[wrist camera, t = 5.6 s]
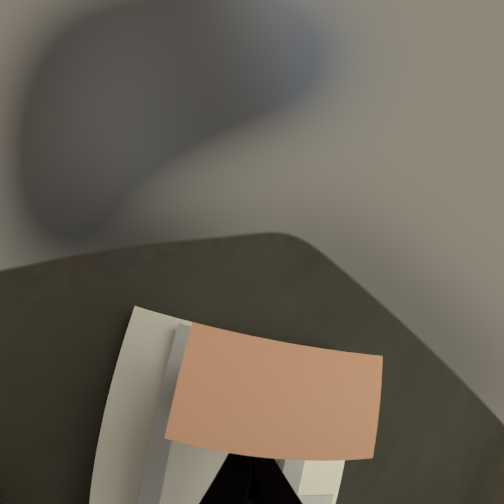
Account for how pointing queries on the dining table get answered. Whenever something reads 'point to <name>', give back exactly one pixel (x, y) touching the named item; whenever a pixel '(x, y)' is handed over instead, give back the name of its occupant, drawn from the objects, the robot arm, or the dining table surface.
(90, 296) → the dining table surface
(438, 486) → the dining table surface
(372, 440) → the slide tab
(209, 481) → the switch board
